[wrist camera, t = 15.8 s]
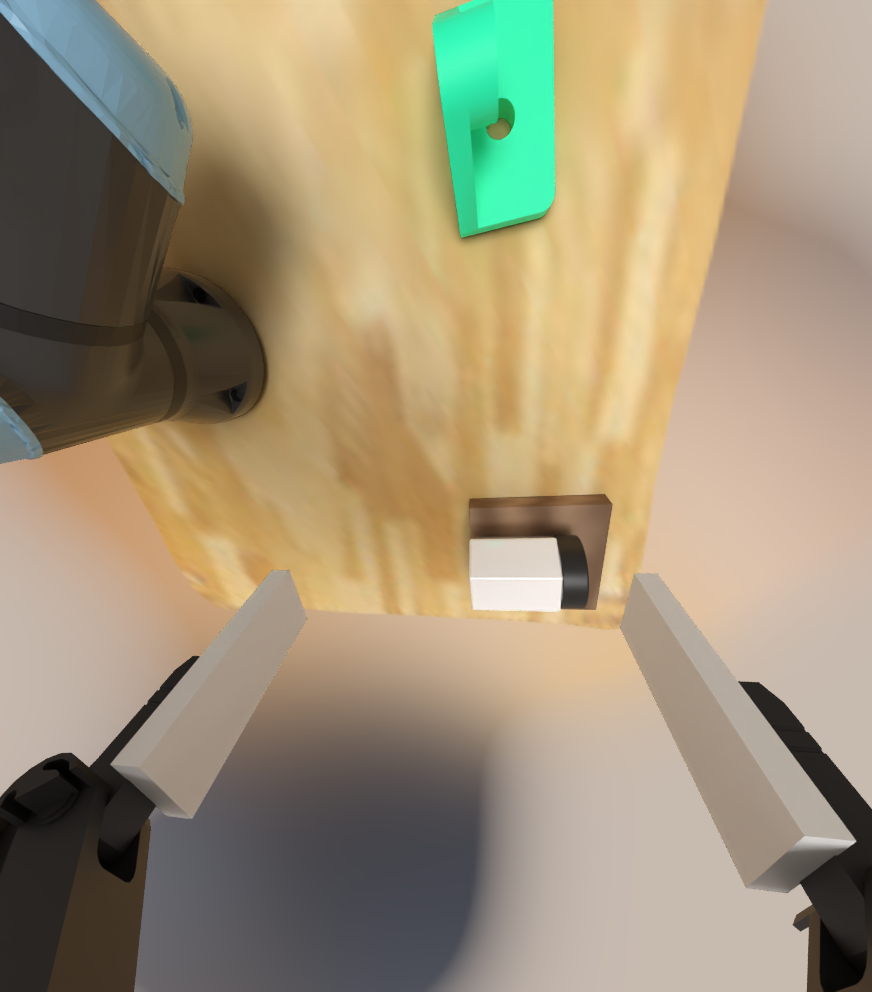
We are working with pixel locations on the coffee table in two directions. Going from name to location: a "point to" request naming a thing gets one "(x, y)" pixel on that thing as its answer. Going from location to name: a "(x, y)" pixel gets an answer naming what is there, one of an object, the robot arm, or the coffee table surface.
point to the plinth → (549, 524)
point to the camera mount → (498, 109)
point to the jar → (528, 573)
